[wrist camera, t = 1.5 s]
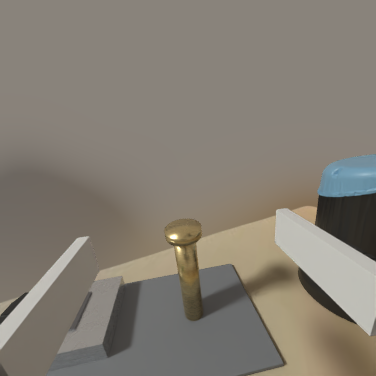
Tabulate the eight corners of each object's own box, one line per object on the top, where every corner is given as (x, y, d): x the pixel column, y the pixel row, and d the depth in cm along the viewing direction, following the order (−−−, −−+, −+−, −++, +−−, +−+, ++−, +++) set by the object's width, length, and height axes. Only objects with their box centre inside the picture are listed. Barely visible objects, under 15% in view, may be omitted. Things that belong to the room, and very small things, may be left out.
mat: (231, 265, 39) (231, 263, 39) (283, 365, 22) (283, 363, 22) (46, 300, 35) (45, 298, 35) (-62, 454, 18) (-65, 452, 18)
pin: (205, 295, 32) (197, 216, 27) (212, 323, 27) (204, 234, 22) (177, 300, 32) (164, 221, 27) (180, 331, 27) (164, 241, 22)
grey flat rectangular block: (125, 287, 36) (121, 274, 35) (107, 358, 24) (101, 342, 23) (42, 303, 34) (36, 290, 33) (-18, 386, 23) (-30, 371, 22)
